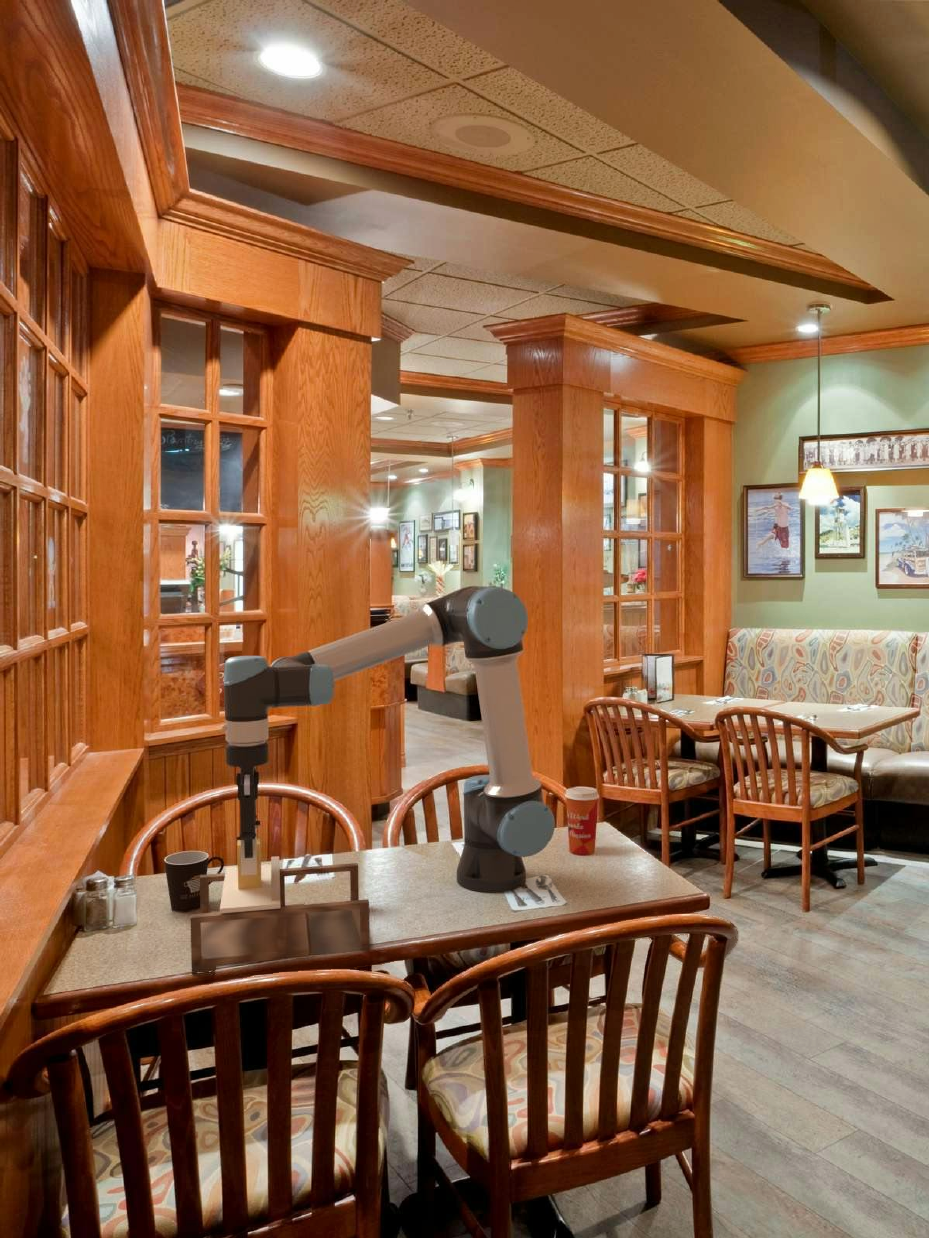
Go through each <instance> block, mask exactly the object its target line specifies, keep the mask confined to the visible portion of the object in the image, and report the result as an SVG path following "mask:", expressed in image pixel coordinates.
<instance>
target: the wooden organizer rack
mask: <svg viewBox="0 0 929 1238" xmlns="http://www.w3.org/2000/svg"><path fill="white" fill-rule="evenodd" d="M279 870H280V908H278V909H266V910H255V911H243V912H231V913H220V910H215V911H210V885H209V882H212V883H218V882H224V879H225V872H221V873H220V874H217V873H213V874H210V873H209V874H208V873H207V875H200V906H201V908H200V913H194V914H192V913H191V914H190V917H189V919H190V920H189V921H190V953H191V961H190V962H191V963H190V964H191V974H192V975H194V974H193V973H197V972H209V971H215V972H216V969H217V966H221V965H223V966H224V965H232V964H240V963H241V964H242V963H253V962H262V961H263V962H264V961H271V960H272V961H273V960H282V959H291V958H292V959H294V958H302V957H305V958H306V957H315V956H323V955H333V954H335V955H336V954H346V953H355V952H363V951H365V952H366V951H370V949H371V947H370V946H371V944H370V943H371V940H370V939H371V938H370V937H371V936H370V932H371V931H370V902H369V901H370V900H369V898H367V899H360V898H359V897H360V893H359V889H360V888H359V887H360V886H359V863H358V862H353V863H341V864H327V865H325V864H324V865H314V866H303V867H302V866H301V867H289V868H287V867H286V868H279ZM343 872H349V878H350V879H349V885H350V886H349V889H350V894H349V895H350V896H349V898H350V900H346V901H345V900H343V901H333V902H331V901H330V902H320V903H309V904H305V903H297V904H286V892H285V891H286V889H285V887H286V885H285V883H286V882H285V881H286V880H285V879H286V878H285V877H291V876H293V877H294V876H304V875H316V874H330V873H343ZM209 973H210V972H209Z"/></svg>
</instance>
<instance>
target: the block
mask: <svg viewBox="0 0 929 1238" xmlns="http://www.w3.org/2000/svg"><path fill="white" fill-rule="evenodd" d="M261 839H262V838H261V837H260V836H259V837H258V836H257V838H256V847H257V874H256V875H243V876H241V840H237V844H236V846H237V847H236V848H237V849H236V851H237V855H236V856H237V867H238V889H250V888H261V865H262V850H261V849H262V848H261V847H262V846H261V843H262V842H261Z"/></svg>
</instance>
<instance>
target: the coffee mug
mask: <svg viewBox="0 0 929 1238" xmlns="http://www.w3.org/2000/svg"><path fill="white" fill-rule="evenodd" d="M209 856H210V855H209V854H208V853H207V852H205V851H201V850H186V851H179V852H175V853H172V854H169V855H167V856H165V857H164V859H163V863H164V868H165V869H164V870H165V874H166V875H165V876H166V882H167V889H168V895H169V903H170V909H171V911H174V912H178V913H189V912H193V911H194V912H195V911H198V910H201V906H200V875H208V867H209V865H210V864H211V862H213V861H215V860H217V861H219V862H220V868H219V870H218V871H217V872H216V874H221V873H222V871H223V870H224V867H225V862H224V860H223V858H221V857H220V856H212V857H210V858H209ZM211 883H213V882H209V886H210V885H211Z"/></svg>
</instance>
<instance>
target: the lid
mask: <svg viewBox="0 0 929 1238" xmlns="http://www.w3.org/2000/svg"><path fill="white" fill-rule="evenodd" d="M270 860H271V861H270V864H269V863H268V864H267V863H265V864H261V888H250V889H238V866H229V867H227V866H226V868H225V872H224V873H225V879H224V881H223V887H222V892H221V900H220V906H219V911H220V913H231V912H243V911H255V910H266V909H278V908H280V870H279V869H280V855H278V856H271V857H270Z"/></svg>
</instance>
